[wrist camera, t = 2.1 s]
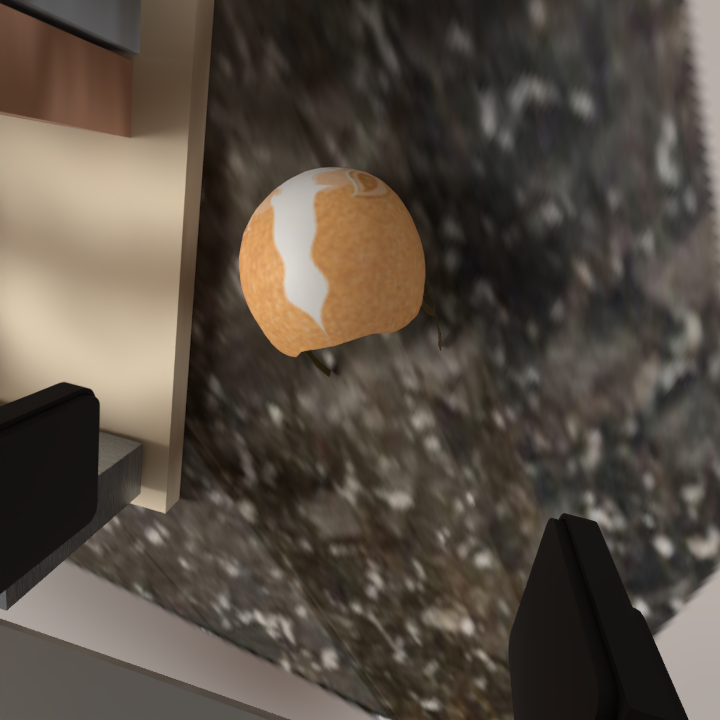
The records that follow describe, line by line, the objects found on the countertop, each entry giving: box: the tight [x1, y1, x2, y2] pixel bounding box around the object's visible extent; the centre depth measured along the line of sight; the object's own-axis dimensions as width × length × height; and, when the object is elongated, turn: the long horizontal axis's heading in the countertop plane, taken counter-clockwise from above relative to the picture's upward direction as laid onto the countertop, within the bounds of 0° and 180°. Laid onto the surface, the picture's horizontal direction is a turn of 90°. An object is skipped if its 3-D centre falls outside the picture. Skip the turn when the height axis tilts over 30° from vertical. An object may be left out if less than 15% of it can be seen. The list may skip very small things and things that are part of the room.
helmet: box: [239, 167, 441, 377], centre depth 18 cm, size 6×7×8 cm
